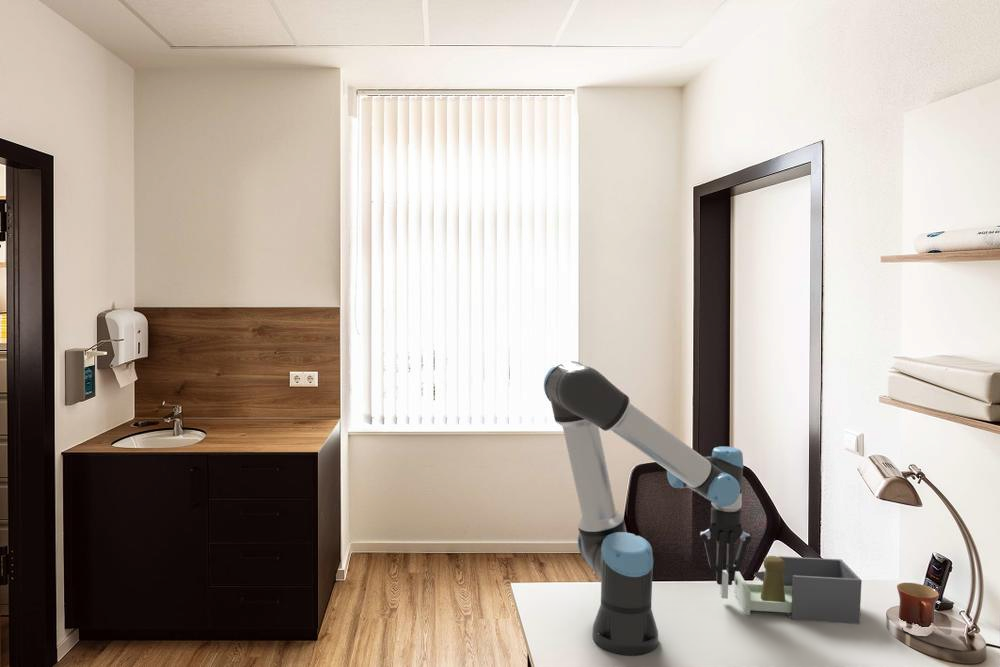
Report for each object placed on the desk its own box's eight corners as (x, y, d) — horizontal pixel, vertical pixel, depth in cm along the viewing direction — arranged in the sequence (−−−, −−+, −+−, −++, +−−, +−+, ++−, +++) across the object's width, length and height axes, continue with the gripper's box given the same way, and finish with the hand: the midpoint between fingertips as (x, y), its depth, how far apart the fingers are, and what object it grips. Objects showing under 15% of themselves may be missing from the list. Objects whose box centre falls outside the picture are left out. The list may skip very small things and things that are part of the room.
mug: (889, 621, 177) (891, 580, 176) (928, 624, 175) (930, 584, 175) (907, 644, 165) (909, 601, 165) (948, 648, 164) (951, 605, 163)
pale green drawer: (744, 614, 179) (744, 591, 178) (732, 592, 192) (733, 570, 191) (806, 618, 177) (807, 594, 176) (791, 595, 190) (792, 573, 190)
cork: (782, 595, 187) (783, 554, 186) (788, 605, 181) (789, 562, 180) (758, 593, 187) (759, 552, 187) (763, 603, 182) (764, 561, 181)
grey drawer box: (792, 619, 177) (793, 576, 176) (777, 596, 191) (778, 556, 190) (859, 623, 175) (861, 580, 175) (839, 599, 189) (841, 559, 188)
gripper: (703, 510, 181) (700, 601, 182) (755, 513, 179) (753, 604, 181) (698, 502, 188) (695, 588, 190) (748, 504, 187) (746, 591, 188)
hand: (723, 596), depth 185 cm, fingers closed
